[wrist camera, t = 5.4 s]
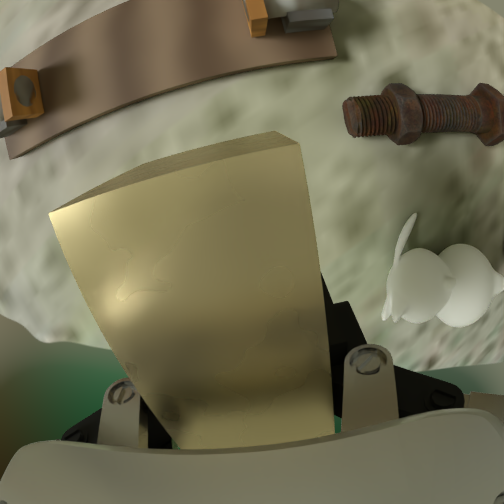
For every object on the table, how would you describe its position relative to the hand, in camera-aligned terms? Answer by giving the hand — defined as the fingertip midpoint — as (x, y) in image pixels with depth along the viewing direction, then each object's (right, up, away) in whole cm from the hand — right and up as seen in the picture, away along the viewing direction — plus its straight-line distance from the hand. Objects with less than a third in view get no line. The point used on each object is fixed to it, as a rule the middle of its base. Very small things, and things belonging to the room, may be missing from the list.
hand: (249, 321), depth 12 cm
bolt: (+14, +15, +10) cm, 23 cm away
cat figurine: (+18, +2, +16) cm, 24 cm away
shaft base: (-9, +19, +8) cm, 23 cm away
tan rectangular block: (0, 0, 0) cm, 1 cm away
